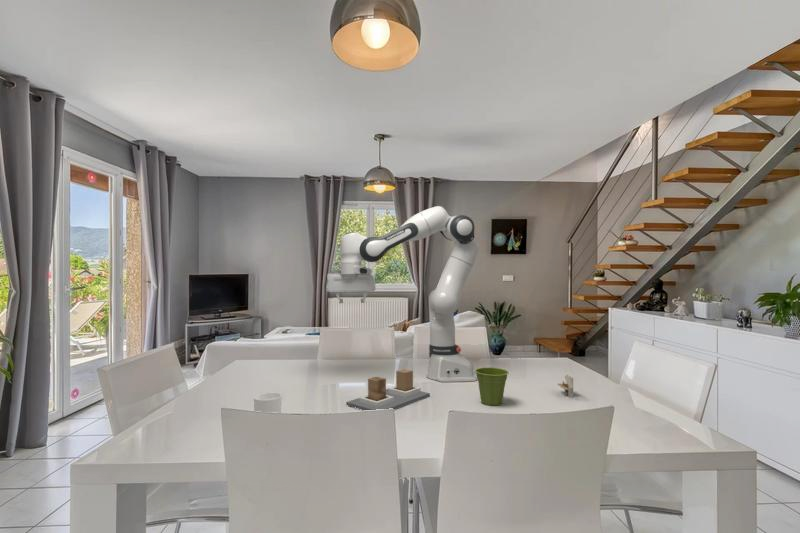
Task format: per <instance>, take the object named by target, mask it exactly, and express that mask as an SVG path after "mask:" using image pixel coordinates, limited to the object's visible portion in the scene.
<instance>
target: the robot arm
mask: <svg viewBox="0 0 800 533" xmlns="http://www.w3.org/2000/svg"><path fill="white" fill-rule="evenodd" d="M475 228H476V227H475V223H474V221H473V219H472V218H470V216H468V215H464V214H462V215H461V214H460V215H453V216H450V214H448V211H447V210H446V209H445V208H444V207H443V206H441V205H436V206H433V207H430V208H427V209H424V210H422V211H420V212H418V213H416V214H414V215H412V216H411V217H410V218H407V220H405V221H404V222H403V224H402V225H400V226H399V227H398V228H395V229H394V230H392V231H390V232H387V233H385V234H383V235H381V236H371V237H366V236H364V235H362V234H361V233H359V232H358V231H352V232H351V231H350V232H347V233H344V234H343V235H342V236H341V237H340V242H339V243H340V244H339V254H340V258H341V259H340V263H339V264H340V270H331V271H330V272H328V273H327V277H326V279H327V292H328V293H329V294H331V293H334V294H335V295H336V297H337V299H338V304H344V298H341V293H362V294H363V297H362V298H360V303H361V304H365V303H366V299H367V298H366V297H367V296H368V292H370V293H371V292H375V291H376V281H375V276H374V275H372V273H373V269H372V268H368V267H366V266H362V262H363V261H365V262H368V263H375V262H378V261H380V260H381V259H382V258H383V257H384V255H385V254H386V253H387V252H388V251H390V250H391V249H393V248H395V247H397V246H399V245H402V244H403V243H406V242H410V241H415V242H417V241H419V240H423V239H426V238H428V237H429V236H430V237H431V236H432V235H434V234H436V233H438V232H439V233H440V234H441V235H442V236H443V237H444V238H445V239H446V240H448V241H453V243H454V245H453V250H452V252H451V253H450V256H449V257H448V260H447V262H446V264H445V266H444V268H443V270H442V272H441V276H440V278H439V280H438V284H437V286H436V288H434V289H433V290H432V291H431V292H430V293H429V296H428V315H429V343H430V344H429V345H428V356H429V361H428V362H429V363H428V364H429V365H428V370H427V373H426V377H427V378H428V379H430V380H434V381H438V382H441V383H449V382H450V383H451V382H453V383H454V382H476V381H478V379H477V374H476V372H475V371H474V368H473V365H472V362H471V361H470V360H469V359H468V358H466V357H465V356H464V355H462V354H461V352H462V348H461V347H460V346H459V345H457V344H456V325H455V324H456V323H455V316H454V315H455V314H454V311H455V309H456V308H457V305H458V303H459V300H460V298H461V296H462V293H463V290H464V288H465V287H464V286H465V284H466V282H467V279H468V277H469V275H470V273H471V271H472V269H473V267H474V265H475V263H476V259H477V258H478V254H479V250H480V245H479V243H478V242H477V241H476V240H475Z"/></svg>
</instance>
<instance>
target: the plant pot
mask: <svg viewBox="0 0 800 533" xmlns="http://www.w3.org/2000/svg"><path fill="white" fill-rule="evenodd" d="M474 372H475V373H476V374H477V379H478V380H477V383H478V390H479V395H480V397H479V398H480V401H481V403H482V404H483V405H486V406H500V405H502V404H503V399H504V392H505V387H506V381H507V378H508V375H509V373H510V372H509V371H508V370H507V369H505V368H500V367H489V366H487V367H477V368H476V369H475V368H474Z"/></svg>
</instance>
